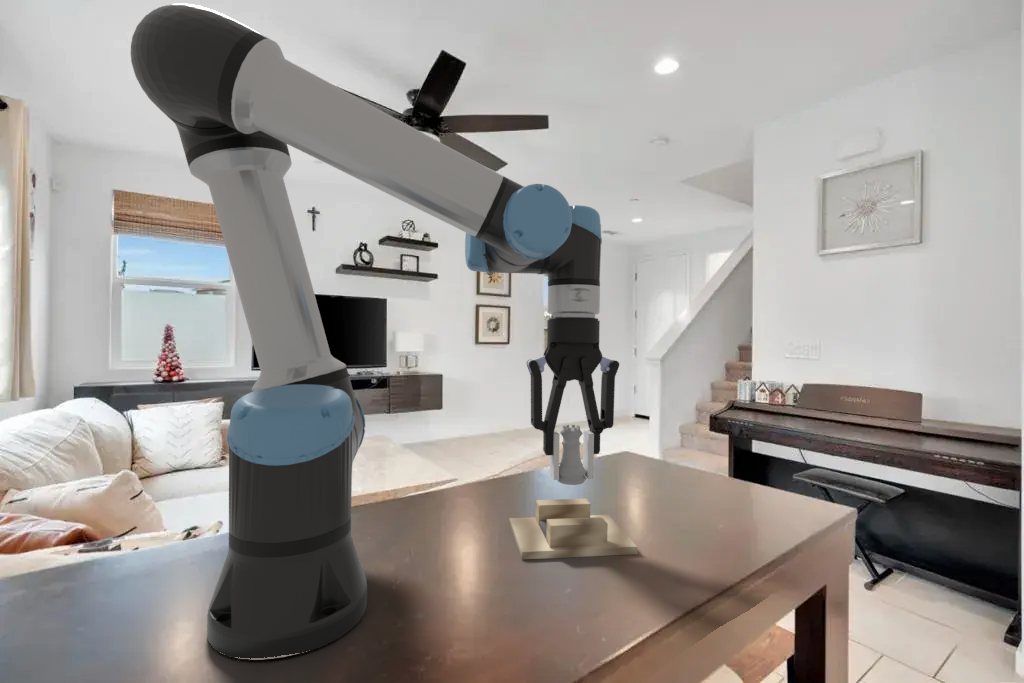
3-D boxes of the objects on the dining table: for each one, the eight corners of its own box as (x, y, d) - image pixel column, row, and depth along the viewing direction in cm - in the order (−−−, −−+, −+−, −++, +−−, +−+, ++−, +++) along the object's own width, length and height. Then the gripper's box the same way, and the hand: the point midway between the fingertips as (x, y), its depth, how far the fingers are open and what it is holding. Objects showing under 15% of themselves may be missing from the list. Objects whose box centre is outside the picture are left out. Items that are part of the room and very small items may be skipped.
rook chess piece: (591, 479, 73) (591, 425, 73) (578, 487, 69) (578, 430, 69) (564, 474, 76) (564, 422, 75) (550, 482, 72) (550, 427, 72)
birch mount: (521, 559, 65) (522, 529, 65) (509, 524, 77) (509, 499, 77) (637, 554, 68) (637, 524, 68) (607, 520, 80) (608, 496, 80)
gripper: (518, 314, 67) (516, 486, 67) (641, 316, 69) (638, 482, 70) (510, 316, 74) (508, 471, 75) (621, 318, 77) (619, 467, 77)
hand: (571, 476), depth 72 cm, fingers closed on rook chess piece, 4 cm apart
